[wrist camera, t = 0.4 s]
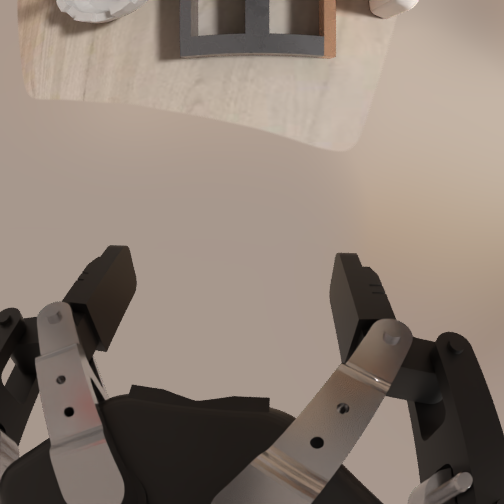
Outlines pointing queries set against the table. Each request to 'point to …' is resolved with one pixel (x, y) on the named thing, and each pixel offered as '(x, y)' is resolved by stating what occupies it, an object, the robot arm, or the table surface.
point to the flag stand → (99, 9)
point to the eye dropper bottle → (390, 7)
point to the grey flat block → (257, 34)
